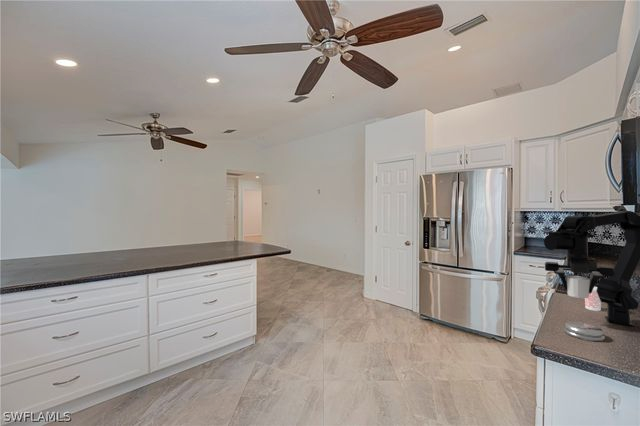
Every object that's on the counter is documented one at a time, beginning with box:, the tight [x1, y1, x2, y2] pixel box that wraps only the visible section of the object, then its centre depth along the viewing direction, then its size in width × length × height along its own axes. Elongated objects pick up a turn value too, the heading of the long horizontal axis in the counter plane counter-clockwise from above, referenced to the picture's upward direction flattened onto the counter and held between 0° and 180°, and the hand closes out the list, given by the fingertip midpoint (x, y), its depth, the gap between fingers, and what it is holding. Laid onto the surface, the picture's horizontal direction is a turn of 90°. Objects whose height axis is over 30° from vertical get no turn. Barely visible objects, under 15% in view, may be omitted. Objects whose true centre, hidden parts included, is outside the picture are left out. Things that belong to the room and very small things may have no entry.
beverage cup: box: [584, 286, 602, 312], centre depth 118 cm, size 6×6×14 cm
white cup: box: [565, 275, 590, 299], centre depth 103 cm, size 7×7×7 cm
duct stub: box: [563, 321, 606, 343], centre depth 93 cm, size 10×10×3 cm
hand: (577, 291), depth 103 cm, fingers closed on white cup, 6 cm apart
